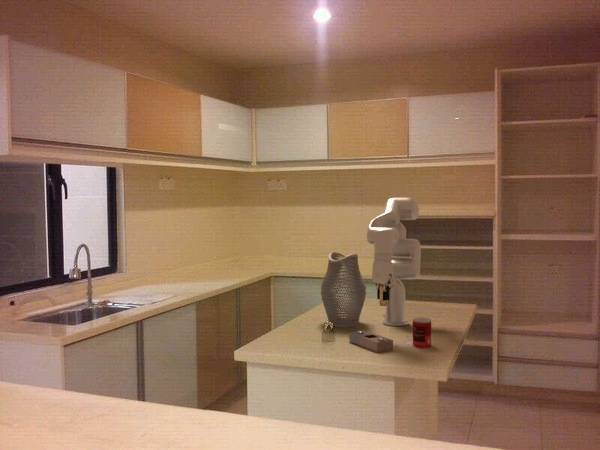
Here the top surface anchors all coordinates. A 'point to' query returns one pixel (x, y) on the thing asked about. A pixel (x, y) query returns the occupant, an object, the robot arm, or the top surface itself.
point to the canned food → (422, 332)
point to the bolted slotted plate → (371, 341)
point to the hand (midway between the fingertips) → (383, 299)
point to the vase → (357, 285)
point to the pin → (382, 302)
